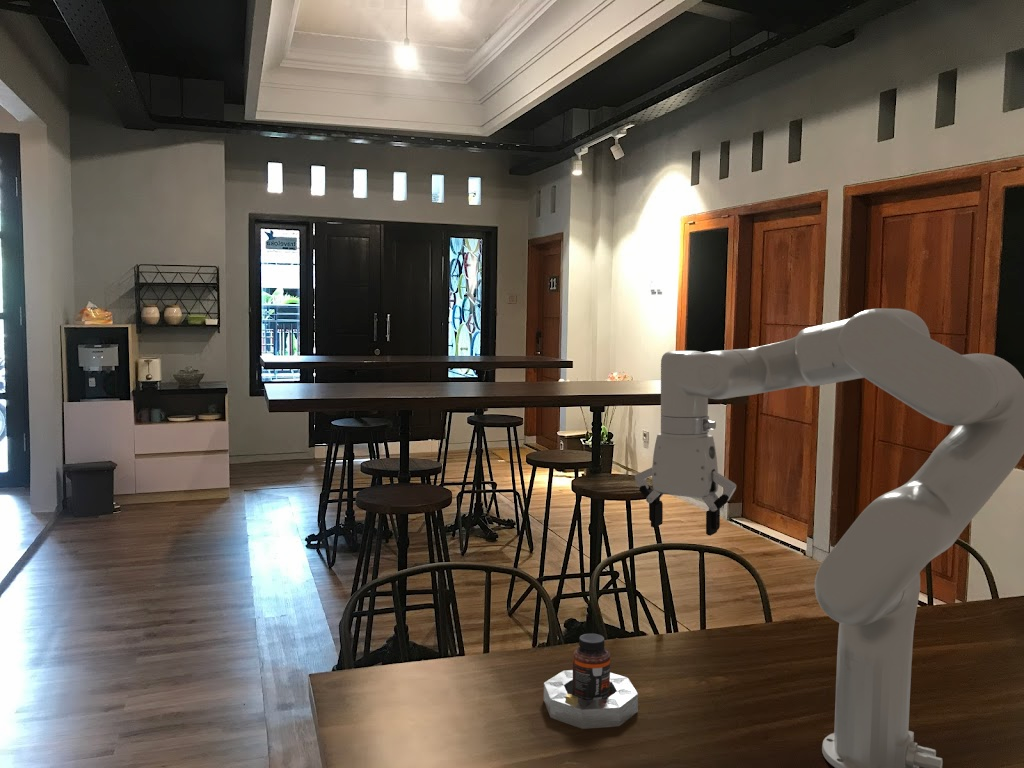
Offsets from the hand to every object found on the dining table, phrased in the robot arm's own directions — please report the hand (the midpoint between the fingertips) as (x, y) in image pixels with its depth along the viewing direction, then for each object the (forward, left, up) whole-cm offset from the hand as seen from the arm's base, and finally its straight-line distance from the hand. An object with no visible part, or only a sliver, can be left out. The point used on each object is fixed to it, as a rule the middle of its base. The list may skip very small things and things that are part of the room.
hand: (683, 529), depth 137 cm
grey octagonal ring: (+9, +14, -27) cm, 32 cm away
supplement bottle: (+9, +14, -28) cm, 32 cm away
